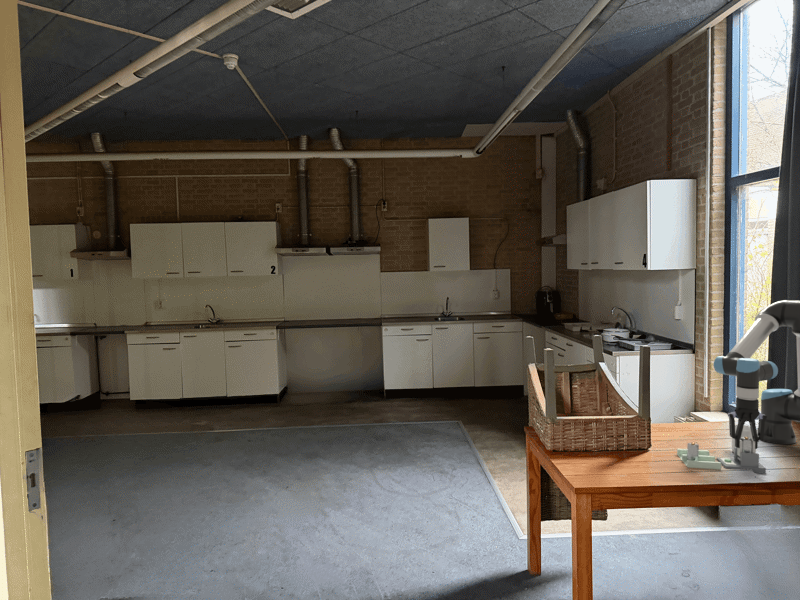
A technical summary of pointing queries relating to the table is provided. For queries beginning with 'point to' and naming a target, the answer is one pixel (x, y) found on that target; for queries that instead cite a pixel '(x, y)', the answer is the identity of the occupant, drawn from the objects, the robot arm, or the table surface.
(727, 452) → the table surface
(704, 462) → the tray
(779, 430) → the robot arm
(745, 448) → the cell
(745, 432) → the mug
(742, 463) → the grey mounting bracket
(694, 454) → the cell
